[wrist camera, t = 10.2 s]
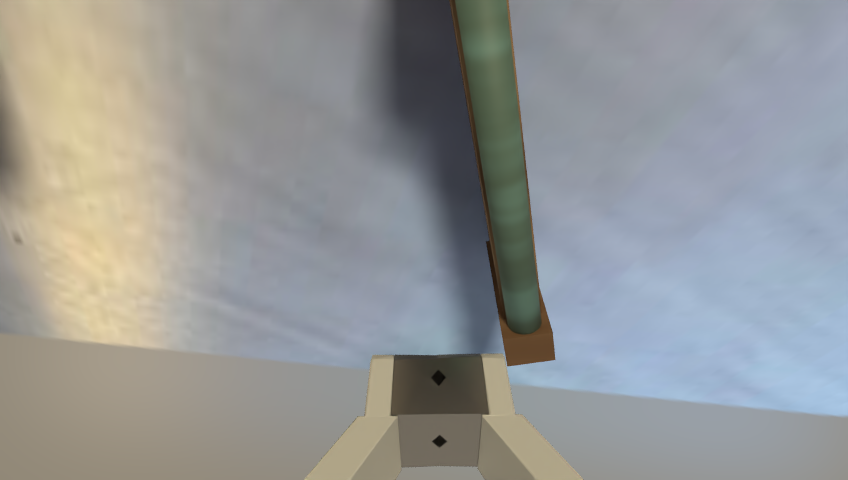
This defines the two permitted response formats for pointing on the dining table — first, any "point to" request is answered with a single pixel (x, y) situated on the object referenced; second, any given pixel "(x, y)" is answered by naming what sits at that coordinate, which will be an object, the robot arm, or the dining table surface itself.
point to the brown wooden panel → (502, 175)
